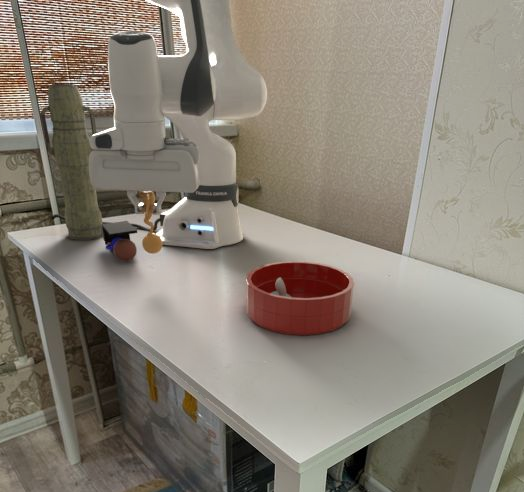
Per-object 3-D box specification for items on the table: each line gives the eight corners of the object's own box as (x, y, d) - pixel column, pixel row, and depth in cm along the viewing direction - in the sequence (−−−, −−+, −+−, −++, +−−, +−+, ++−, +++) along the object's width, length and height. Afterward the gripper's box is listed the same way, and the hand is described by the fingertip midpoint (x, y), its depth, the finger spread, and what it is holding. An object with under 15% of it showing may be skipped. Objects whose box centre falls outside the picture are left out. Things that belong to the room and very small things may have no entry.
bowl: (240, 333, 84) (240, 297, 81) (251, 291, 100) (251, 259, 97) (354, 338, 83) (358, 302, 79) (346, 295, 99) (349, 263, 96)
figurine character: (101, 252, 124) (113, 264, 111) (96, 221, 121) (108, 230, 109) (129, 249, 127) (143, 260, 114) (124, 218, 124) (139, 226, 111)
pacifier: (296, 301, 94) (265, 303, 93) (298, 269, 91) (266, 271, 90) (309, 318, 88) (276, 320, 87) (312, 284, 85) (278, 286, 84)
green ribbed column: (60, 233, 133) (32, 83, 117) (105, 228, 138) (86, 83, 121) (64, 242, 126) (36, 84, 110) (112, 237, 131) (92, 84, 114)
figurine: (148, 253, 106) (124, 197, 102) (175, 243, 106) (152, 186, 102) (145, 259, 98) (119, 197, 94) (174, 248, 98) (150, 186, 94)
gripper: (201, 136, 94) (204, 211, 101) (92, 133, 95) (103, 207, 102) (194, 141, 88) (198, 220, 95) (80, 138, 89) (92, 216, 96)
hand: (148, 213), depth 98 cm, fingers closed on figurine, 2 cm apart
